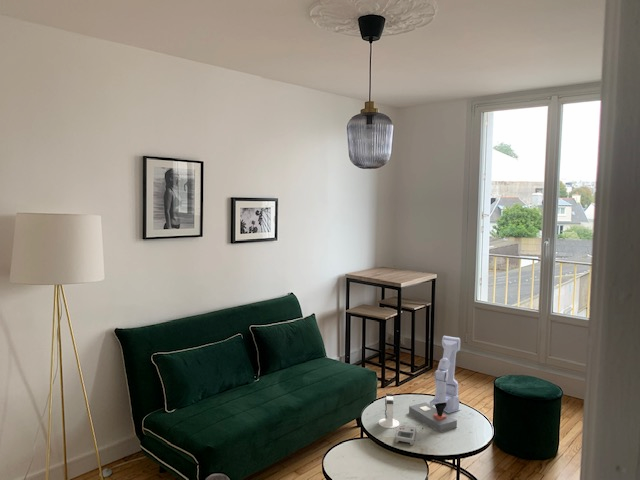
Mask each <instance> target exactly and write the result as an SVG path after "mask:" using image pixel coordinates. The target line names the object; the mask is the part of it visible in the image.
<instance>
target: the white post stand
mask: <svg viewBox="0 0 640 480" xmlns="http://www.w3.org/2000/svg"><path fill="white" fill-rule="evenodd" d="M384 401H385V403H384V406H385V410H384V415H385V417H383V418H381V419H379V420H378V424H379V425H380V426H381V427H382V428H386V429H396V428H399V427H400V422H399V420H397V419H395V418H394V396H393V393H386V394H385V399H384Z"/></svg>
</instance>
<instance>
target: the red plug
mask: <svg viewBox="0 0 640 480" xmlns="http://www.w3.org/2000/svg"><path fill="white" fill-rule="evenodd" d="M433 417H434V418H436V419H438V420H443V419H446V416H445V415H443V414H442V416H439V415H438V414H434V415H433Z"/></svg>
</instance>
